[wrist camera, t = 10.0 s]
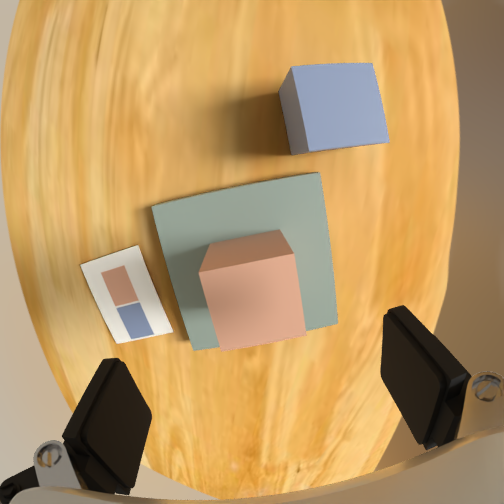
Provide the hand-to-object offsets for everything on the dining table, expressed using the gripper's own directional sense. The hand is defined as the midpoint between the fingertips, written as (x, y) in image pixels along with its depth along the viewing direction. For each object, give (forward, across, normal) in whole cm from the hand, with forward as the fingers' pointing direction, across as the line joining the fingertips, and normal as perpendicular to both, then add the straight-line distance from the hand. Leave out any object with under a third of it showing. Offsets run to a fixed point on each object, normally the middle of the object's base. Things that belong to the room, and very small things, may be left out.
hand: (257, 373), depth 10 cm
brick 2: (+14, -7, -9) cm, 18 cm away
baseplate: (+14, 0, +1) cm, 14 cm away
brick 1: (+12, 0, +1) cm, 13 cm away
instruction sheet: (+14, +11, +2) cm, 18 cm away
